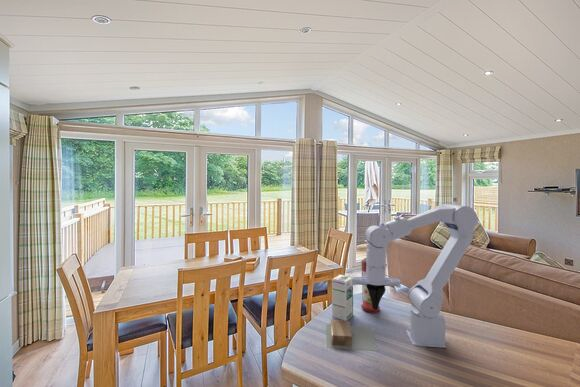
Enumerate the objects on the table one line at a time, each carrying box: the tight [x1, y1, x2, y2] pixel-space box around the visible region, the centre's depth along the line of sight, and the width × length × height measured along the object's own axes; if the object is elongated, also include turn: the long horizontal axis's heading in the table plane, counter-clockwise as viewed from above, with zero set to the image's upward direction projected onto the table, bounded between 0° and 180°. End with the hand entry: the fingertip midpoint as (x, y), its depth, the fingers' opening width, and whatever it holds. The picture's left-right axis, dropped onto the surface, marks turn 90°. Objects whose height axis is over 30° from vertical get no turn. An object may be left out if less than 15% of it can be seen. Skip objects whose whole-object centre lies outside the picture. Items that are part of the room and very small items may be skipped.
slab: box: [330, 319, 352, 346], centre depth 90 cm, size 3×9×6 cm
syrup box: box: [331, 274, 354, 321], centre depth 104 cm, size 6×6×14 cm
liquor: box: [360, 257, 381, 313], centre depth 108 cm, size 7×7×28 cm
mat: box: [325, 324, 379, 352], centre depth 91 cm, size 15×13×1 cm
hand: (374, 308), depth 89 cm, fingers closed
